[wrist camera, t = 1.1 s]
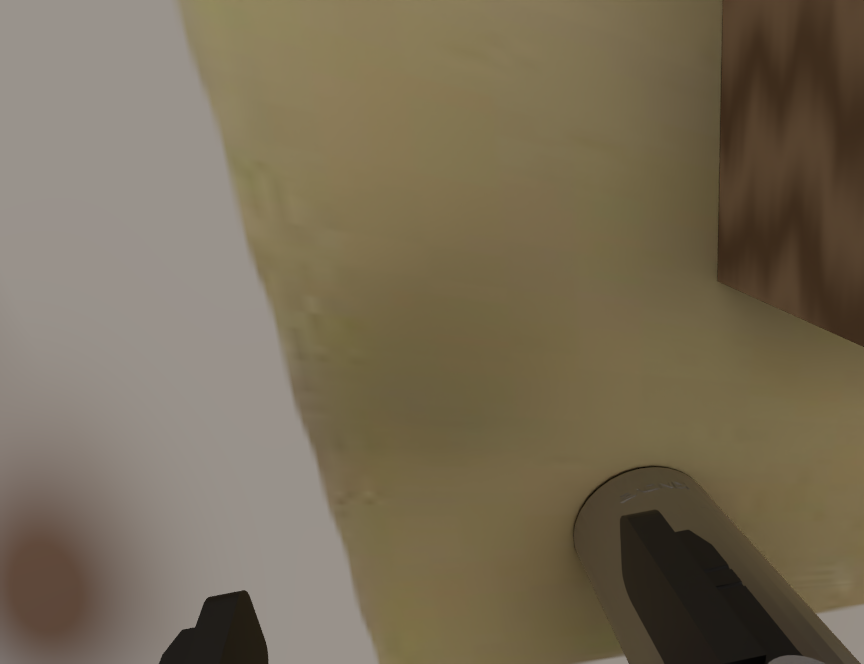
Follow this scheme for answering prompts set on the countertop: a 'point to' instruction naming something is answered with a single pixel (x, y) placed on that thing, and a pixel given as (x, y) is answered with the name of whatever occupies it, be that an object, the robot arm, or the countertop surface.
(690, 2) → the countertop surface
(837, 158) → the pedestal
